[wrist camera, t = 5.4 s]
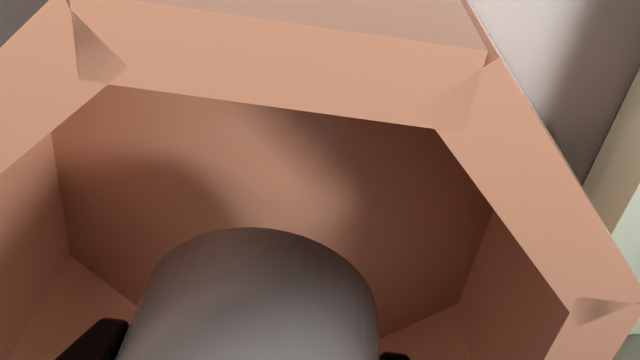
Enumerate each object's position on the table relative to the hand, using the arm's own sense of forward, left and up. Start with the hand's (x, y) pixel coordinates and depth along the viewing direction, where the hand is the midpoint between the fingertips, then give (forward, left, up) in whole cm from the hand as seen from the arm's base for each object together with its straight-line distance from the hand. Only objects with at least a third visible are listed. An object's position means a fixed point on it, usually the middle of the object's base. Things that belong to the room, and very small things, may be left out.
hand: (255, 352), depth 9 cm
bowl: (0, 0, -4) cm, 4 cm away
